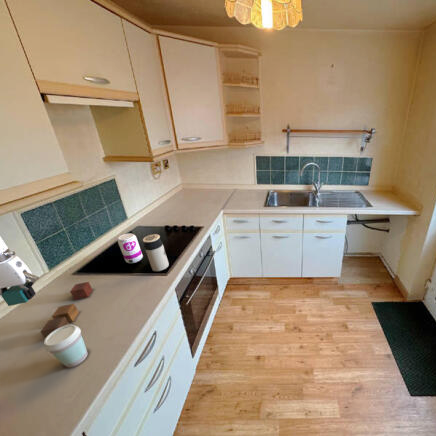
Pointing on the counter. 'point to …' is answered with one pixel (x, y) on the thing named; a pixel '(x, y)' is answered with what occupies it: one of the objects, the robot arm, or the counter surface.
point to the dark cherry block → (81, 290)
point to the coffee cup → (66, 345)
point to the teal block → (14, 296)
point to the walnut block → (53, 325)
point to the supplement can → (130, 248)
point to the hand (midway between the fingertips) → (21, 298)
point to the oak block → (66, 312)
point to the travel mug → (155, 252)
